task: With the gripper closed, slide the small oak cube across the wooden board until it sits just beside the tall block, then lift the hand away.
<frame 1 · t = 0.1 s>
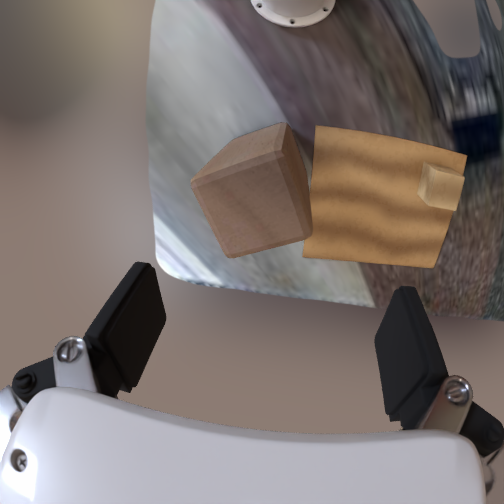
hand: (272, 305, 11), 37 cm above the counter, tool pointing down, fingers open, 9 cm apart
oak cube: (434, 180, 40), resting on wooden board
block: (268, 158, 44), on the counter
wooden board: (388, 205, 45), on the counter
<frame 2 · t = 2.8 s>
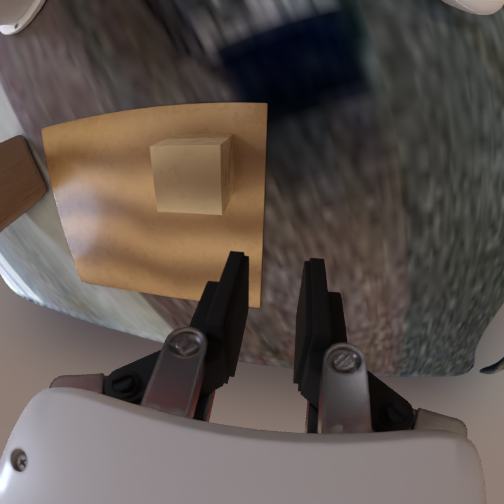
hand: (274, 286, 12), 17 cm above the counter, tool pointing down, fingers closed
oak cube: (203, 163, 26), resting on wooden board
block: (22, 174, 30), on the counter
wooden board: (140, 214, 31), on the counter
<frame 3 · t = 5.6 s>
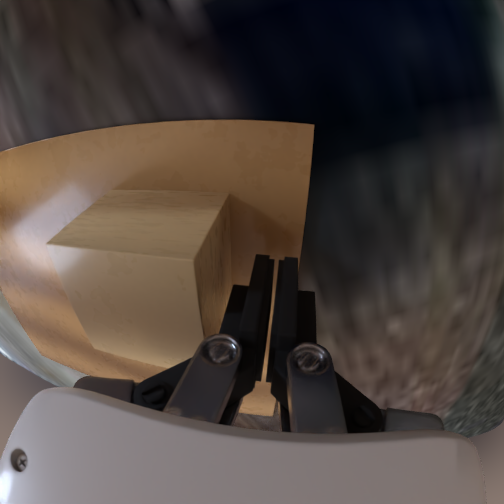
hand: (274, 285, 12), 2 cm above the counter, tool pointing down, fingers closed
oak cube: (171, 246, 14), resting on wooden board, touching gripper
wooden board: (90, 305, 18), on the counter
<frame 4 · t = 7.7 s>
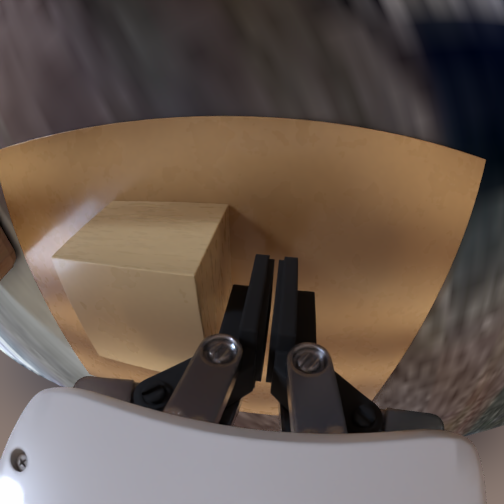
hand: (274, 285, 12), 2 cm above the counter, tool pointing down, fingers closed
oak cube: (173, 255, 14), resting on wooden board
wooden board: (196, 323, 17), on the counter
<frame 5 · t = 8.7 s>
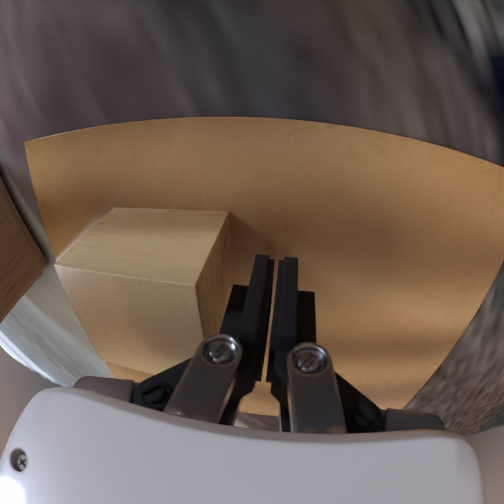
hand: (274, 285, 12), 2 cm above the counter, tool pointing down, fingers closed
oak cube: (174, 261, 14), resting on wooden board, touching gripper
wooden board: (261, 332, 17), on the counter
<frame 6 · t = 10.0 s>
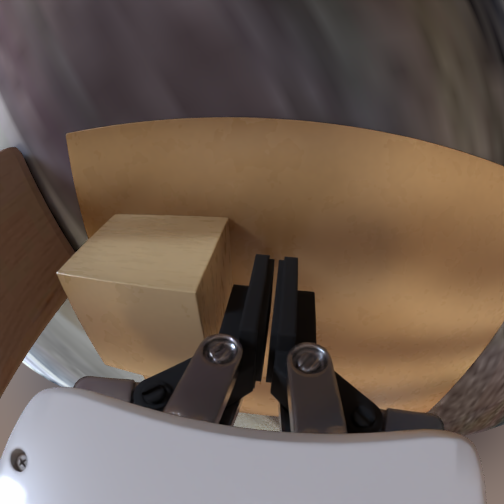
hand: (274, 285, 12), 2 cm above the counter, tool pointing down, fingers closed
oak cube: (175, 266, 15), resting on wooden board, touching gripper
block: (24, 227, 15), on the counter
wooden board: (325, 337, 16), on the counter
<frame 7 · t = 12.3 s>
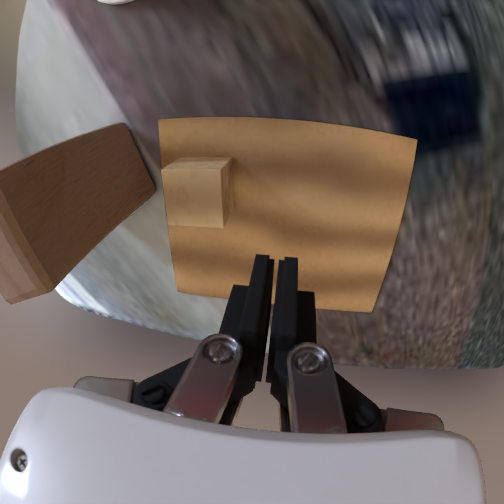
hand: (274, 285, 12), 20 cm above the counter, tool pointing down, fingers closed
oak cube: (207, 182, 31), resting on wooden board
block: (115, 170, 32), on the counter
wooden board: (281, 224, 33), on the counter
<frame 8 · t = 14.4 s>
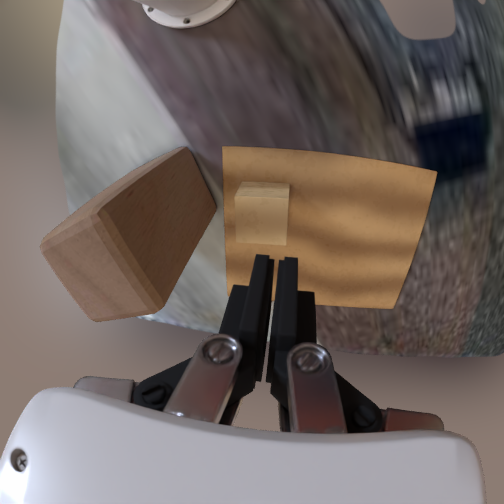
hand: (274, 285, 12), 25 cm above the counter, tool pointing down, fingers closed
oak cube: (265, 204, 37), resting on wooden board
block: (174, 188, 37), on the counter
wooden board: (325, 239, 38), on the counter
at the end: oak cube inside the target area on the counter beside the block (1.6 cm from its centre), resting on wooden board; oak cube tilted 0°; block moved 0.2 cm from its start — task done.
